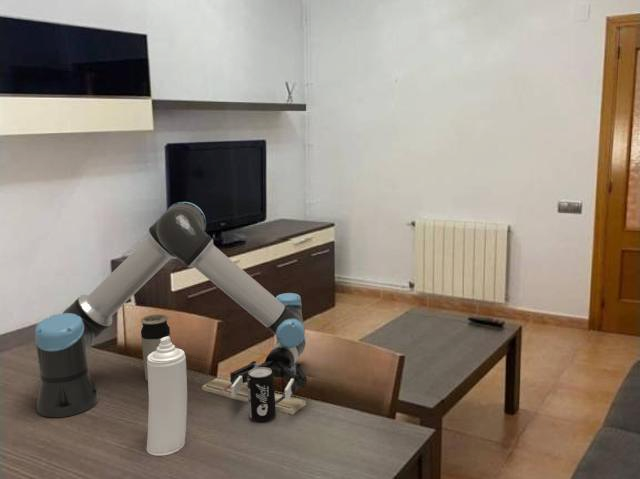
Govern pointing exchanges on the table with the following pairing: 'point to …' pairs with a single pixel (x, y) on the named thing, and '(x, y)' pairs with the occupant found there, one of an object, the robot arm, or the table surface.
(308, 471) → the table surface
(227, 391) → the birch straightedge
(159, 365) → the spray can
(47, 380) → the robot arm
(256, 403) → the beverage can
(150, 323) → the travel mug
